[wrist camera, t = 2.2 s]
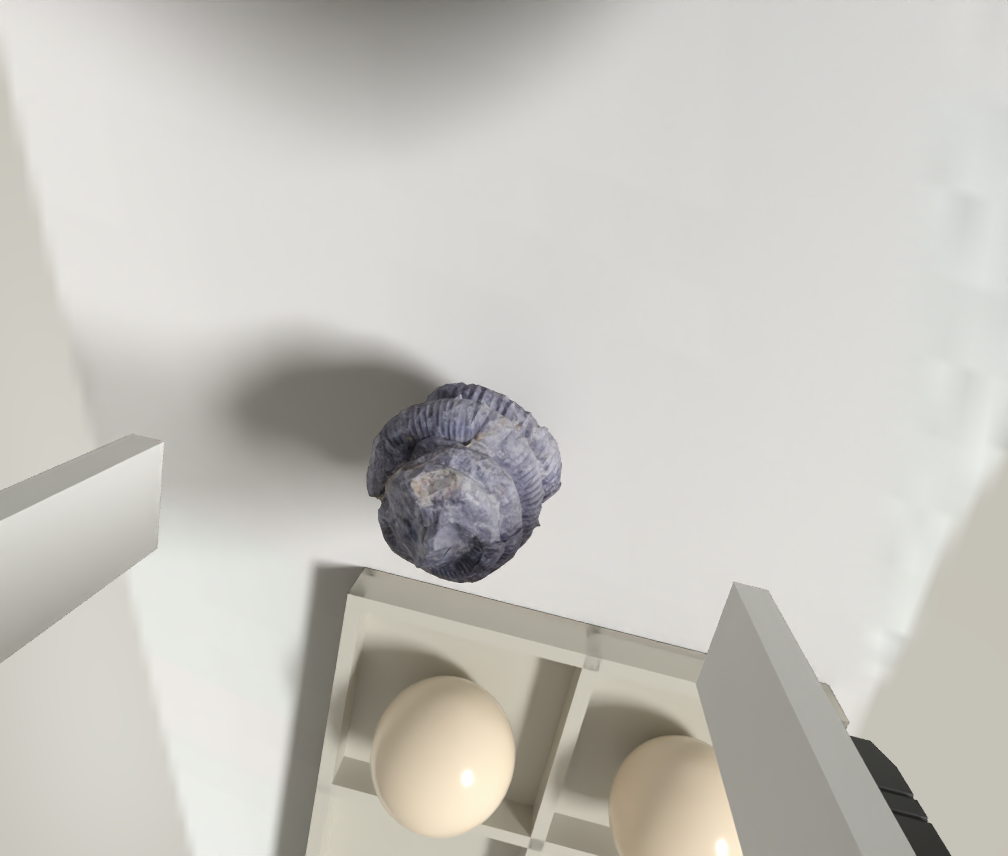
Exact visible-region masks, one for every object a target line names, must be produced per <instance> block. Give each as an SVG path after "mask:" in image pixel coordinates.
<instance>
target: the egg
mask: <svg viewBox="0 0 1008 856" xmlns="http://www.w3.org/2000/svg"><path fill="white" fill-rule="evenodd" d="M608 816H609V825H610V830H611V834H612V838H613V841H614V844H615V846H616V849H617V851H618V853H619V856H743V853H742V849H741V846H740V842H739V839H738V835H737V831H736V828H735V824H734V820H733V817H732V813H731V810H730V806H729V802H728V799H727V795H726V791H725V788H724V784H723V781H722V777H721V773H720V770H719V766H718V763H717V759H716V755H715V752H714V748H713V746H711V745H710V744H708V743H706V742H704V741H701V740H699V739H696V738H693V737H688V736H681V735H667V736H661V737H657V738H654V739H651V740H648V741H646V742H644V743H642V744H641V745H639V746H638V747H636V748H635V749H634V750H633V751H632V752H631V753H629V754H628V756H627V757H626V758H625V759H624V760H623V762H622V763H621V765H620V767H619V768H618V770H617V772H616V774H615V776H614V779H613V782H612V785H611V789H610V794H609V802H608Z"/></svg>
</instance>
